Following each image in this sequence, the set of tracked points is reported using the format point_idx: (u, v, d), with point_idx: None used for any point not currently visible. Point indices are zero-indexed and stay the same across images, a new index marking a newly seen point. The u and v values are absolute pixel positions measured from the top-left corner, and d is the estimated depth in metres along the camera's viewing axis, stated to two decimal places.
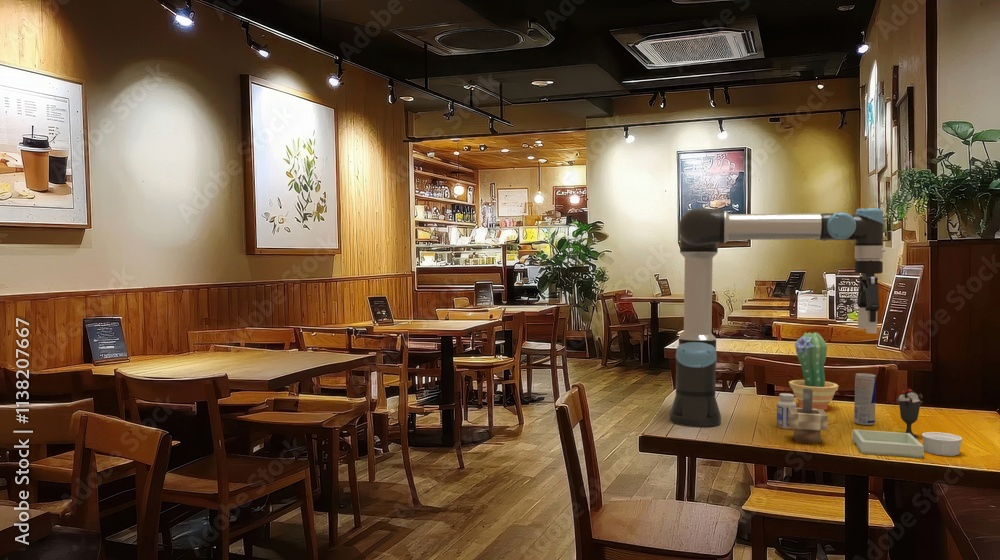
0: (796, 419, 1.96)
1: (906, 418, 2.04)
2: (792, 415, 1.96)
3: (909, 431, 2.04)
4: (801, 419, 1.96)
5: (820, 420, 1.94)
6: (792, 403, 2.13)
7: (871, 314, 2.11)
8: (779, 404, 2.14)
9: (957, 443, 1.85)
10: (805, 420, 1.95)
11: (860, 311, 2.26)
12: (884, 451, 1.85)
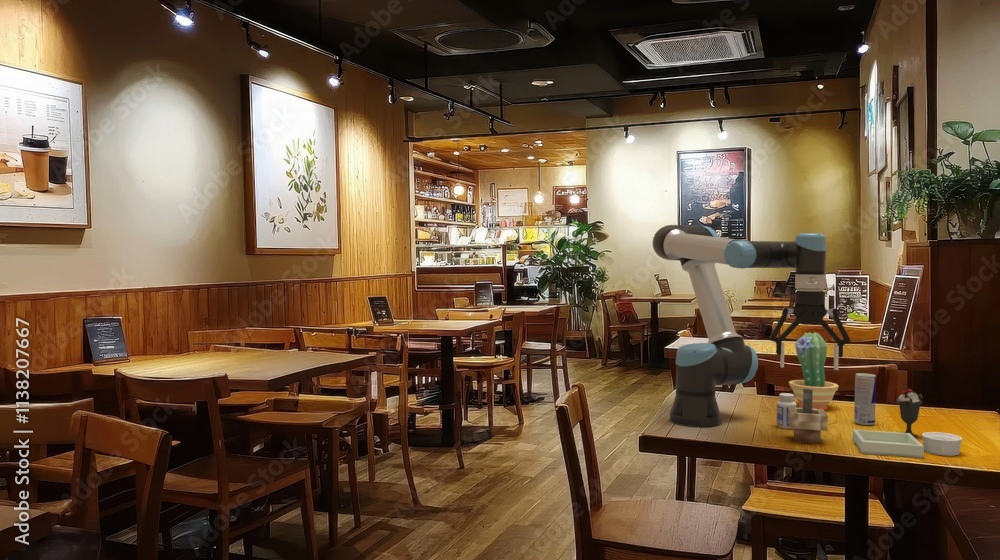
0: (796, 419, 1.96)
1: (906, 418, 2.04)
2: (792, 415, 1.96)
3: (909, 431, 2.04)
4: (801, 419, 1.96)
5: (820, 420, 1.94)
6: (792, 403, 2.13)
7: (776, 346, 2.02)
8: (779, 404, 2.14)
9: (957, 443, 1.85)
10: (805, 420, 1.95)
11: (834, 349, 1.98)
12: (884, 451, 1.85)
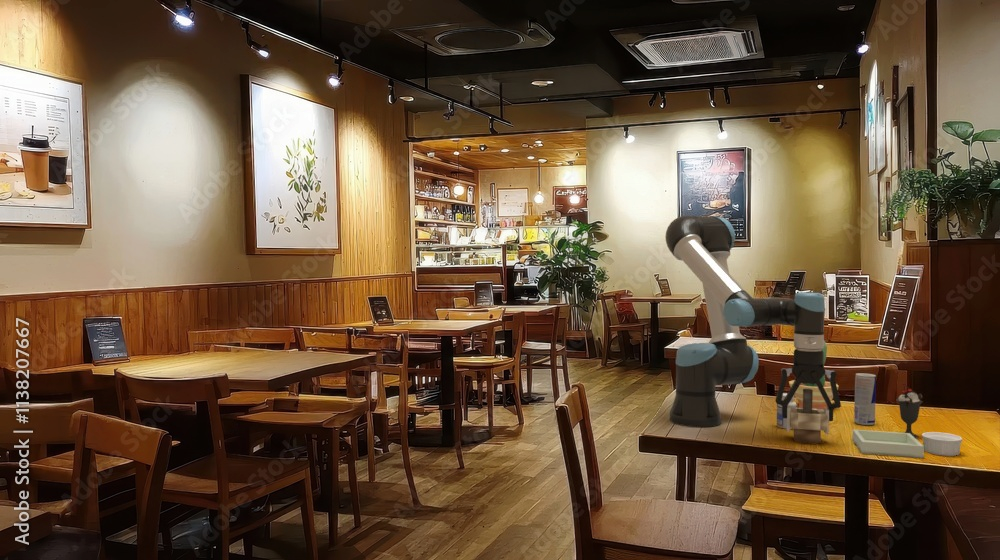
0: (796, 419, 1.96)
1: (906, 418, 2.04)
2: (792, 415, 1.96)
3: (909, 431, 2.04)
4: (801, 419, 1.96)
5: (820, 420, 1.94)
6: (792, 403, 2.13)
7: (782, 409, 2.02)
8: None
9: (957, 443, 1.85)
10: (805, 420, 1.95)
11: None
12: (884, 451, 1.85)
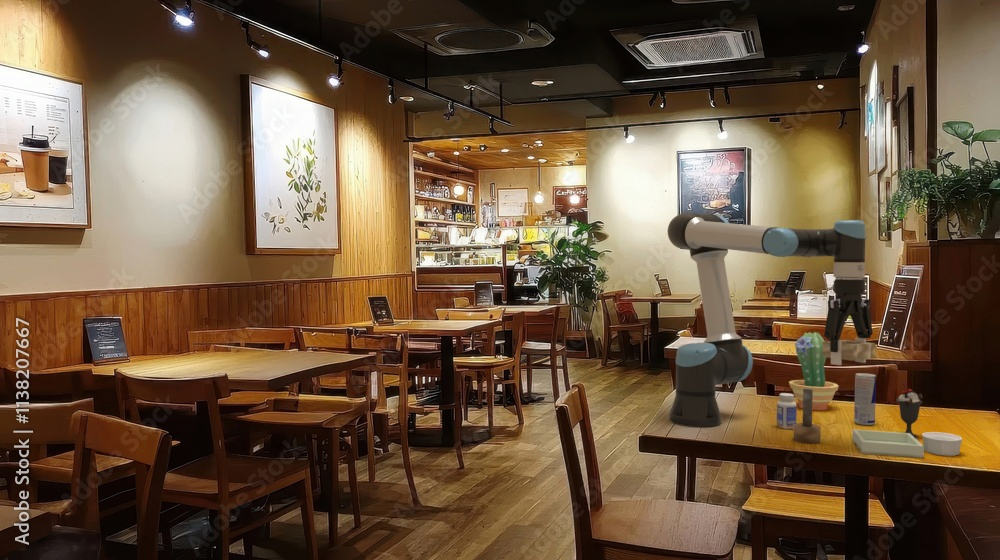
0: (855, 350, 1.89)
1: (906, 418, 2.04)
2: (853, 346, 1.88)
3: (909, 431, 2.04)
4: (859, 349, 1.89)
5: (870, 348, 1.92)
6: (792, 403, 2.13)
7: (831, 343, 1.92)
8: (779, 404, 2.14)
9: (957, 443, 1.85)
10: (861, 350, 1.90)
11: None
12: (884, 451, 1.85)
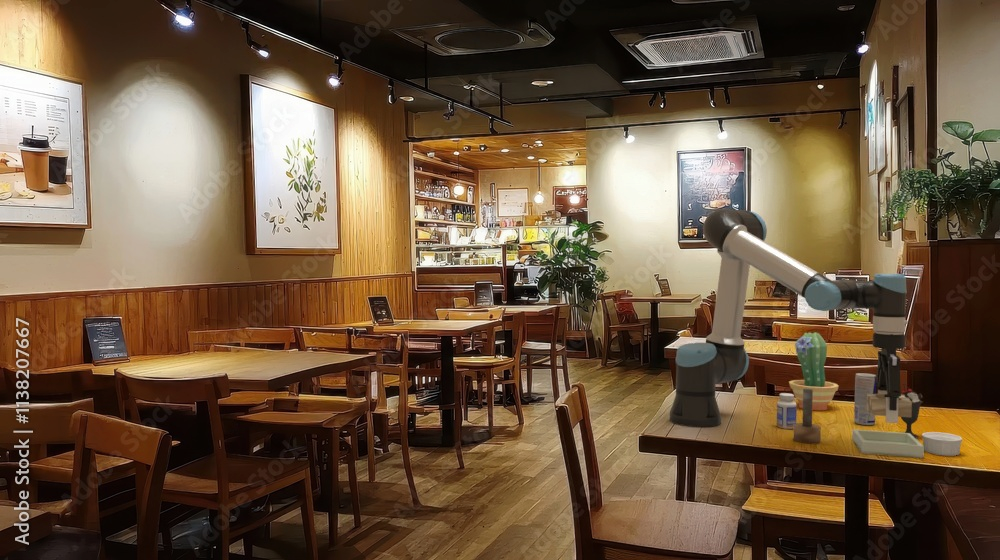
0: None
1: (906, 418, 2.04)
2: None
3: (909, 431, 2.04)
4: None
5: None
6: (792, 403, 2.13)
7: (891, 401, 1.85)
8: (779, 404, 2.14)
9: (957, 443, 1.85)
10: None
11: None
12: (884, 451, 1.85)
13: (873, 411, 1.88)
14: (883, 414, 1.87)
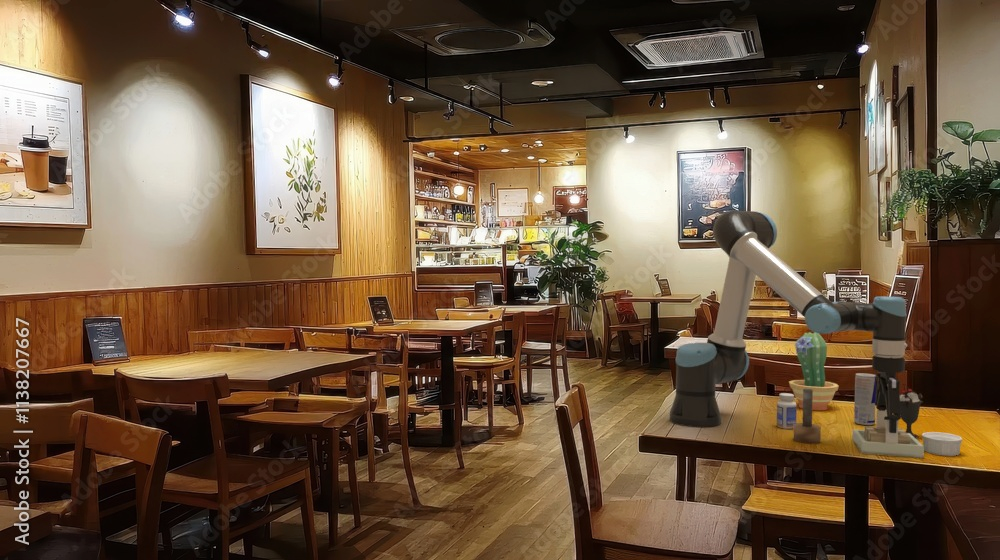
0: None
1: (906, 418, 2.04)
2: None
3: (909, 431, 2.04)
4: None
5: None
6: (792, 403, 2.13)
7: (891, 424, 1.84)
8: (779, 404, 2.14)
9: (957, 443, 1.85)
10: None
11: (879, 414, 1.96)
12: (884, 451, 1.85)
13: None
14: None
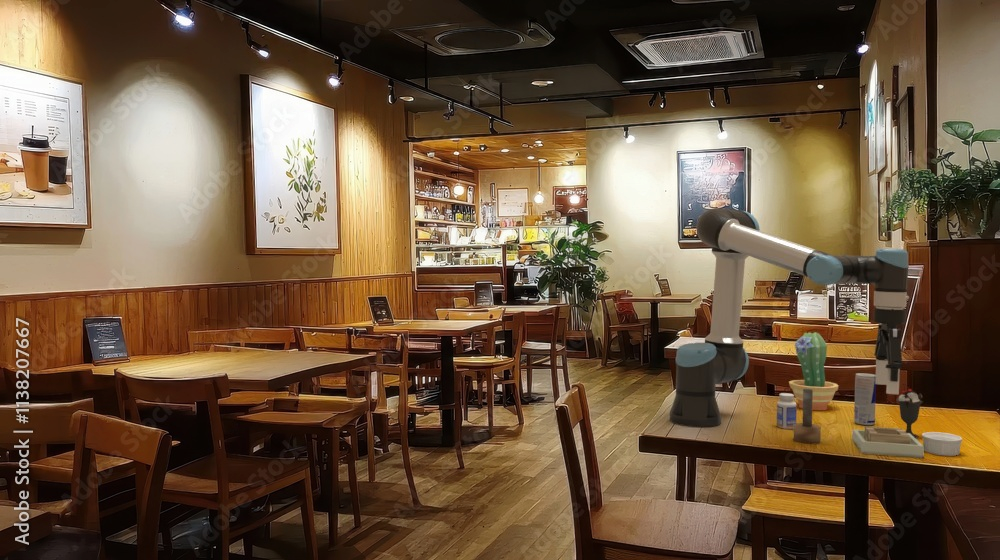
0: None
1: (906, 418, 2.04)
2: None
3: (909, 431, 2.04)
4: None
5: None
6: (792, 403, 2.13)
7: (892, 372, 1.83)
8: (779, 404, 2.14)
9: (957, 443, 1.85)
10: None
11: (878, 364, 1.97)
12: (884, 451, 1.85)
13: None
14: None
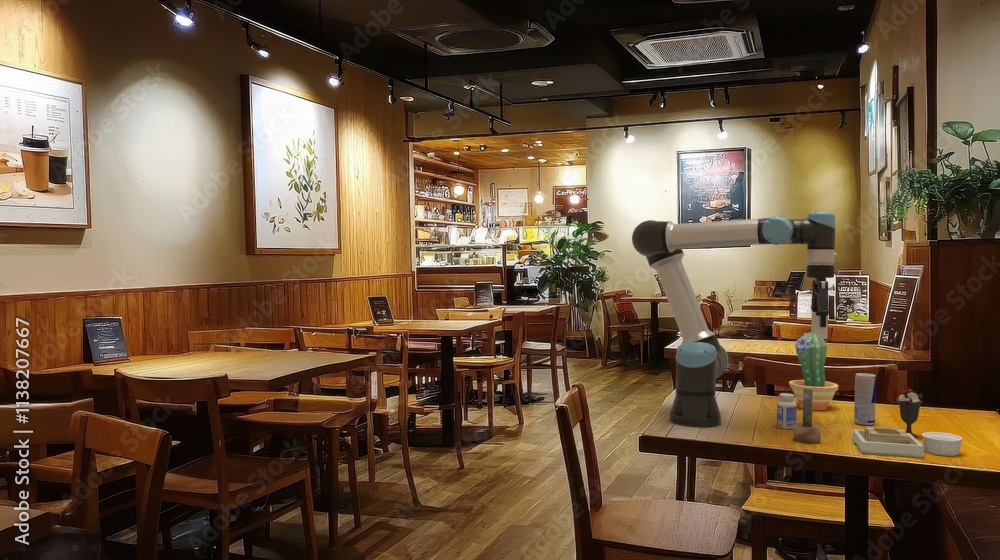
0: None
1: (906, 418, 2.04)
2: None
3: (909, 431, 2.04)
4: None
5: None
6: (792, 403, 2.13)
7: (821, 319, 2.08)
8: (779, 404, 2.14)
9: (957, 443, 1.85)
10: None
11: (813, 316, 2.23)
12: (884, 451, 1.85)
13: None
14: None
